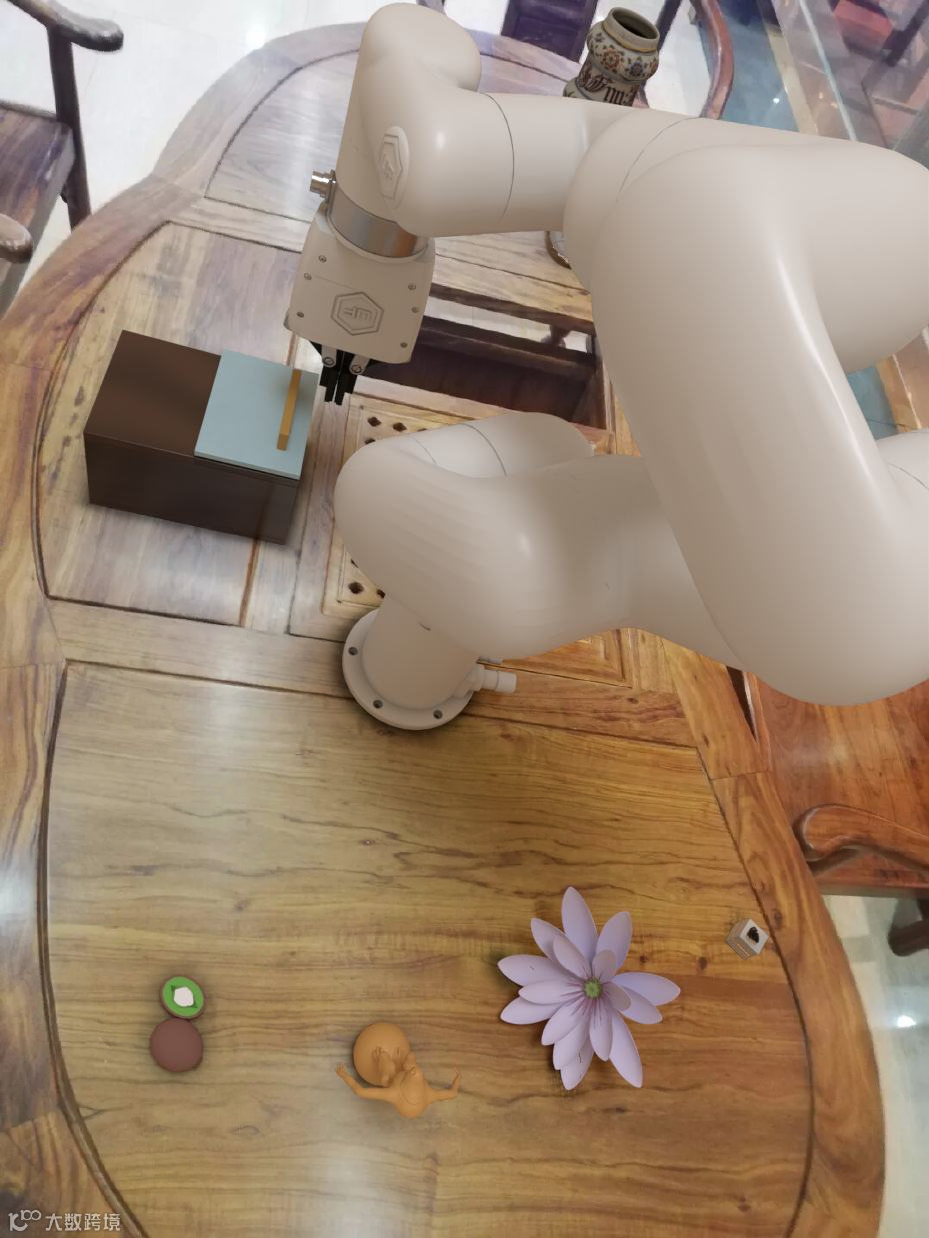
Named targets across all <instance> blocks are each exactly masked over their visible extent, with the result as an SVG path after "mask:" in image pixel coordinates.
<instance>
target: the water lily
mask: <svg viewBox="0 0 929 1238" xmlns="http://www.w3.org/2000/svg"><path fill="white" fill-rule="evenodd" d="M561 923H562V927H563V930H564V932H563V931H562V930H561V929H559V928H558V927H556V926H555V925H553V924H551V923H550V922H548V921H546V920H544V919H540V918H538V917H532V918H531V919H530V929H531V933H532V937H533V939H534V941H535V943H536V944H537V946H538V948H539V949H540V950H541V951H542V953H544V954H545V955H546V956H547V957H545V956H542V955H541V956H540V955H533V954H513V955H509V956H506V957H503V958H501V959H500V960H499V961H498V962H497V967H498V969H500V971H501V972H502V974H503V975H504V976H506V977H507V978H508V979H509V980H510V981H512V982H514V983H515V984H517V985H520V986H522V988H520V989H519V990H518V992H517V993H518V995H519V996H518V997H517V998H514V999H513V1000H512V1001H511V1002H510V1003H508V1005H507V1006H506V1007H504V1009H503V1010H502V1011H501V1014H500V1019H501V1020H502V1021H504V1022H506V1023H509V1024H514V1025H531V1024H535V1023H539V1022H542V1021H545V1020H548V1019H549V1020H548V1021H547V1023H546V1024H545V1026H544V1029H543V1032H542V1035H541V1045H542V1046H550V1045H553V1044H554V1046H553V1053H552V1062H553V1066H554V1069H555V1070H556V1071H558V1070H560V1076H561V1082H562V1085H563V1086H564V1088H565V1090H566V1091H570V1090H572V1089H574V1088H576V1086H578V1085H579V1083H581V1081H582V1080H583V1078H584V1077H585V1075H586V1074H587V1072H588V1069H589V1067H590V1064H591V1062H592V1060H593V1056H594V1053H595V1054H596V1055H597V1057H598V1058H599V1059H600V1060H602V1061H604V1062H607V1061H608V1060H609V1059H610V1061H611V1063H612V1065H613V1066H614V1068H615V1069H616V1070H617V1073H619V1074H620V1076H621V1077H622V1078H623V1079H624V1080H625V1081H626V1082H627V1083H629V1084H630V1085H632V1086H633V1087H635V1088H641V1087H642V1085H643V1068H642V1067H643V1066H642V1062H641V1058H640V1055H639V1051H638V1048H637V1046H636V1043H635V1040H634V1038H633V1035H632V1033H631V1031H630V1029H629V1027H628V1025H627V1023H626V1022H625V1020H624V1018H623V1017H626V1018H627V1019H629V1020H632V1021H634V1022H636V1023H639V1024H643V1025H655V1024H657V1023H660V1022H661V1021H662V1020H663V1016H662V1015H661V1013H660V1011H659V1009H658V1008H657V1007H659V1006H664V1005H665V1004H668V1003H670V1002H672V1001H673V1000H675V999H676V998H677V997H678V996H679V995H680V993H681V991H682V990H681V988H680V987H679V986H678V984H676V983H674V982H673V981H671V980H670V979H668V978H666V977H664V976H661V975H658V974H654V973H650V972H642V971H629V972H623V973H618V974H616V973H617V972H618V971H619V970H620V969H621V967H622V966H623V964H624V963H625V961H626V958H627V956H628V953H629V950H630V946H631V942H632V935H633V926H632V925H633V923H632V918H631V915H630V912H629V911H627V910H623V911H619V912H618V913H615V914H613V916H611V917H610V918H609V919H608V920H607V921H606V922H605V924H604V926H603V927H602V929H601V931H600V934H599V933H598V930H597V927H596V924H595V921H594V918H593V916H592V913H591V911H590V909H589V907H588V904H587V903H586V901H585V899H584V898H583V896H582V895H581V894H580V892H579V891H578V890H576V888H574V887H573V886H569V887H568V888H567V889H566V890H565V892H564V895H563V898H562V903H561ZM598 934H599V935H598ZM530 966H531V967H532V968H533V969H534V970H533V969H532V968H531V967H530ZM621 1014H622V1015H623V1017H622V1015H621ZM579 1053H580V1057H581V1063H580V1057H579ZM580 1075H581V1076H580ZM580 1077H581V1078H580Z"/></svg>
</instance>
